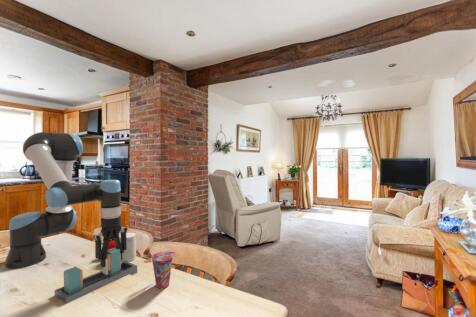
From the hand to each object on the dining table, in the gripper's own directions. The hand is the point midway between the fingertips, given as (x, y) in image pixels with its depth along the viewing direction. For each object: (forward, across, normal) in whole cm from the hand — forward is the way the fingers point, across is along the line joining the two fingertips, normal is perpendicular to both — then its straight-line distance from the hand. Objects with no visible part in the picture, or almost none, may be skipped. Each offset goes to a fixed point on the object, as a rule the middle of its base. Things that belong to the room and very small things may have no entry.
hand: (111, 270), depth 102 cm
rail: (+3, +5, 0) cm, 6 cm away
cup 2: (+4, -8, +22) cm, 24 cm away
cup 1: (+4, -15, -12) cm, 20 cm away
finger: (0, 0, 0) cm, 1 cm away
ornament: (+4, -13, -20) cm, 24 cm away
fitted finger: (+2, +15, 0) cm, 15 cm away
